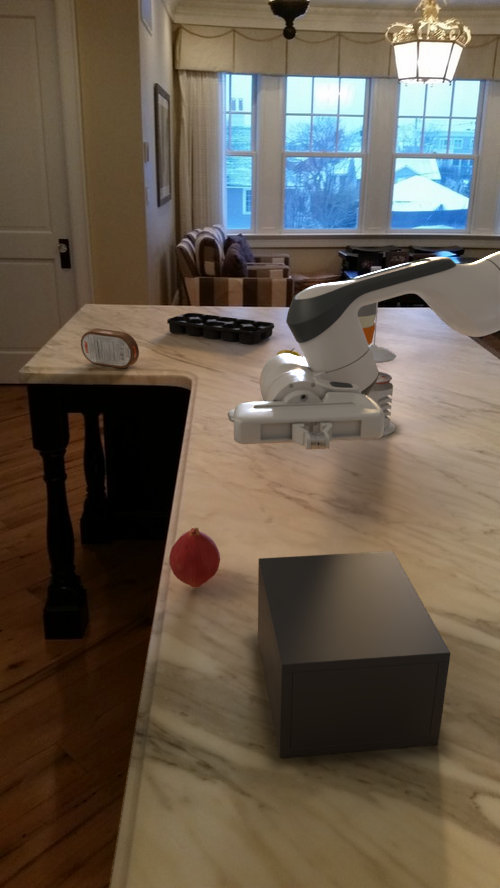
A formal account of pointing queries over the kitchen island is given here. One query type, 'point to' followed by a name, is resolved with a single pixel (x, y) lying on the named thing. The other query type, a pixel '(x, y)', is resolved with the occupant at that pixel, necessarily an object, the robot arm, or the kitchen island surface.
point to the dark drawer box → (348, 654)
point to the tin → (109, 348)
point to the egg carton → (221, 327)
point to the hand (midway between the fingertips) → (318, 443)
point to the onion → (194, 558)
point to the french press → (382, 382)
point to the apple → (289, 352)
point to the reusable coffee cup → (368, 320)
